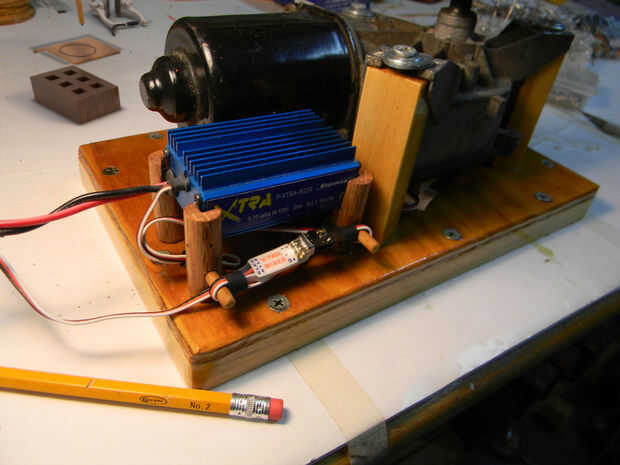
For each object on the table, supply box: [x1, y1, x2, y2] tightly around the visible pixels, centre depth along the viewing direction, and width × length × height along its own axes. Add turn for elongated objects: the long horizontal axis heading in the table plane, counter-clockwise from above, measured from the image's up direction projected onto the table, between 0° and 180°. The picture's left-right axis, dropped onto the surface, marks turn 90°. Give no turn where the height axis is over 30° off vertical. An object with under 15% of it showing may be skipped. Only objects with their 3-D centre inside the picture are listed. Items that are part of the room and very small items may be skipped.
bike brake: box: [88, 0, 150, 37], centre depth 139 cm, size 14×7×20 cm
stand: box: [29, 64, 122, 125], centre depth 96 cm, size 10×14×6 cm
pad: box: [33, 36, 121, 66], centre depth 120 cm, size 16×12×1 cm
